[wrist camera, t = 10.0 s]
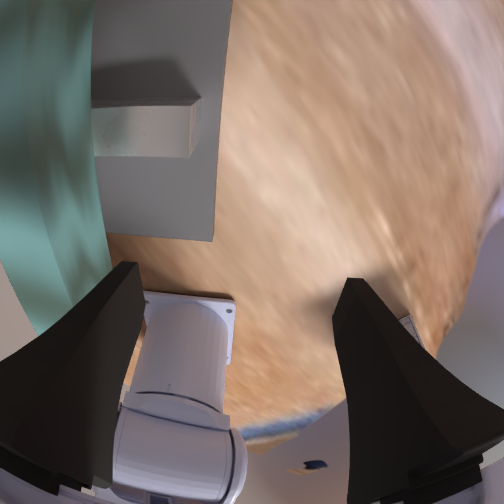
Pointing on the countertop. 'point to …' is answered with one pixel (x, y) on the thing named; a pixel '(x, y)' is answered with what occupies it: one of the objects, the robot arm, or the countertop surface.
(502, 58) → the countertop surface
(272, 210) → the countertop surface
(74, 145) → the teal wavy bar
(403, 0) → the countertop surface
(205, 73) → the ridge stand
